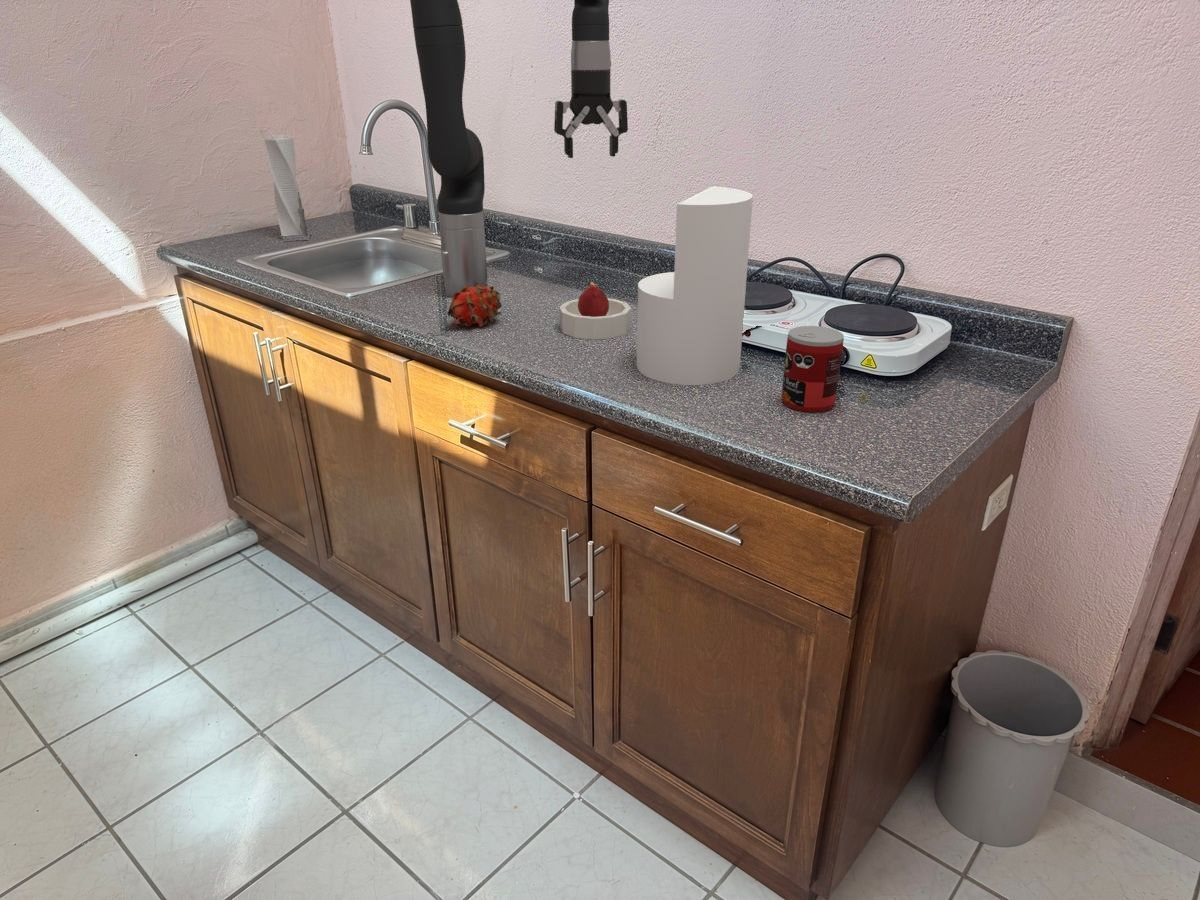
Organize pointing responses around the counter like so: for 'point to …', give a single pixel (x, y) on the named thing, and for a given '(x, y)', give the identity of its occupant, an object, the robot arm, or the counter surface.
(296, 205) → the skyscraper
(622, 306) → the ramekin
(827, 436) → the counter surface
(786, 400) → the canned food
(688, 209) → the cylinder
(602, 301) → the onion
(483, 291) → the dragon fruit
